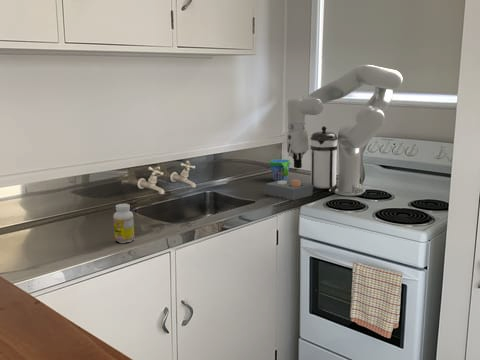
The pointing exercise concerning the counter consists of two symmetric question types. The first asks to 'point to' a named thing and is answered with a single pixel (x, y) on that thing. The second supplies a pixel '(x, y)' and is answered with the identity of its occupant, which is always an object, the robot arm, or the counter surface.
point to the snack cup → (279, 169)
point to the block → (289, 190)
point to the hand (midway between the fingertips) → (297, 167)
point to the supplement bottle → (123, 222)
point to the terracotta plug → (295, 183)
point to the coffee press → (323, 159)
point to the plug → (282, 182)
